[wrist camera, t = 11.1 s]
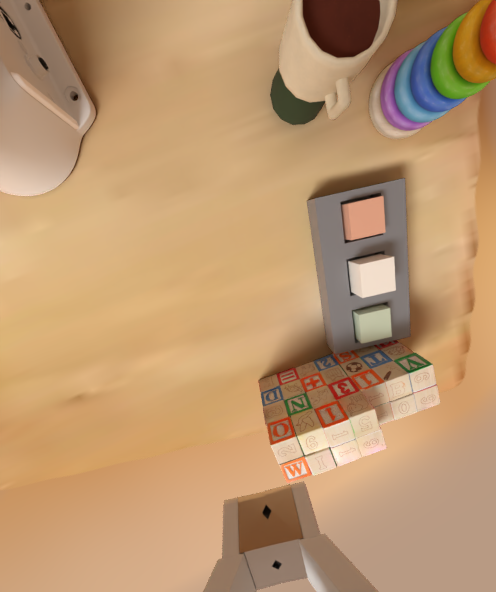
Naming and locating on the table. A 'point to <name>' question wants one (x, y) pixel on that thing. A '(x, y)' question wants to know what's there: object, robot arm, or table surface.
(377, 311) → the sage button
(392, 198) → the button panel
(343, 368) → the stack of blocks
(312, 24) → the character mug
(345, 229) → the terracotta button
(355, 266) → the cream button
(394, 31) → the table surface
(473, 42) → the stacking toy
